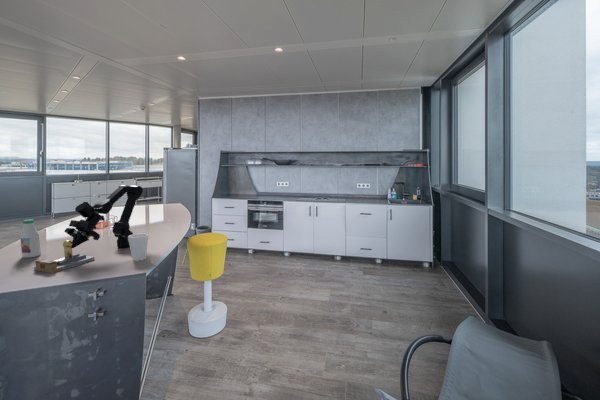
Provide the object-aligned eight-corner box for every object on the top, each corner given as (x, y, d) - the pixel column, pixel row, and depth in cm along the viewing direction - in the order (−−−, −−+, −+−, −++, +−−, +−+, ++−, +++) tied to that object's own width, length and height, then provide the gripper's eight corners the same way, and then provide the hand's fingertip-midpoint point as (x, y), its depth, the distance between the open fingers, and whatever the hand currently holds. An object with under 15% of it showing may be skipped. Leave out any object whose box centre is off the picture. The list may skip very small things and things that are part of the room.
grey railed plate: (77, 257, 165) (77, 248, 165) (94, 259, 162) (93, 251, 161) (34, 270, 146) (33, 260, 145) (52, 273, 142) (51, 263, 141)
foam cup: (152, 257, 167) (151, 234, 165) (139, 262, 158) (137, 238, 157) (139, 255, 170) (138, 232, 169) (125, 260, 162) (123, 236, 160)
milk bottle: (38, 253, 172) (35, 218, 169) (43, 255, 168) (39, 219, 165) (20, 256, 166) (16, 220, 163) (24, 259, 161) (21, 221, 159)
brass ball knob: (70, 258, 158) (68, 239, 156) (75, 259, 156) (74, 239, 155) (50, 264, 148) (48, 243, 147) (56, 265, 147) (54, 244, 146)
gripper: (66, 212, 162) (45, 237, 153) (93, 215, 156) (73, 241, 147) (82, 224, 170) (63, 249, 161) (107, 227, 165) (89, 252, 156)
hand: (71, 247), depth 156 cm, fingers closed, pressing on brass ball knob
